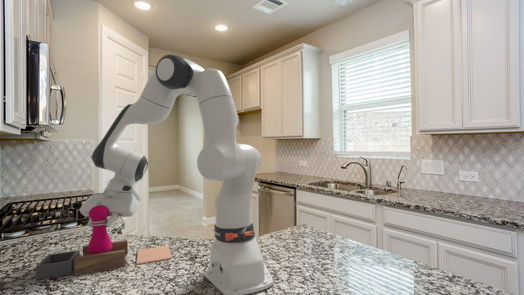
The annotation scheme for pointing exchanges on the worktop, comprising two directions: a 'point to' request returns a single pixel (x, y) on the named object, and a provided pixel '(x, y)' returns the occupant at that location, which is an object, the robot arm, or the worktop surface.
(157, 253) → the terracotta board
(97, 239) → the pepper mill
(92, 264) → the walnut channel
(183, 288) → the worktop surface
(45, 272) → the box
